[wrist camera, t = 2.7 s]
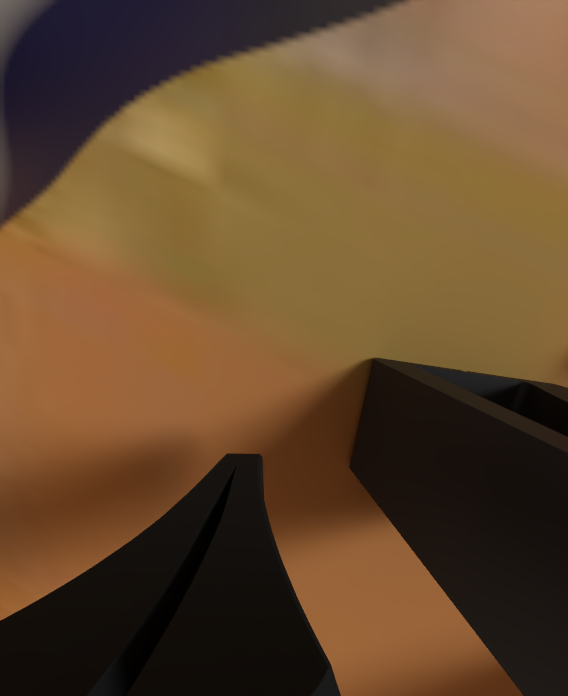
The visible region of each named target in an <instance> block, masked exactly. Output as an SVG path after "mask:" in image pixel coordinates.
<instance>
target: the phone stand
mask: <svg viewBox="0 0 568 696" xmlns="http://www.w3.org/2000/svg"><path fill="white" fill-rule="evenodd" d="M350 469H351V470H352V472H353V473H354V474H355V476H356V477H357V478H358V480H359V481H360V482H361V484H362V485H363V486H364V487H365V489H366V490H367V491H368V493H369V494H370V495H371V497H372V498H373V499H374V501H375V502H376V503H377V504H378V506H379V507H380V508H381V510H382V511H383V512H384V514H385V515H386V516H387V518H388V519H389V520H390V521H391V523H392V524H393V525H394V527H395V528H396V529H397V531H398V532H399V533H400V534H401V536H402V537H403V538H404V540H405V541H406V542H407V544H408V545H409V546H410V548H411V549H412V550H413V551H414V553H415V554H416V555H417V557H418V558H419V559H420V561H421V562H422V563H423V565H424V566H425V567H426V568H427V570H428V571H429V572H430V574H431V575H432V576H433V578H434V579H435V580H436V582H437V583H438V584H439V585H440V587H441V588H442V589H443V591H444V592H445V593H446V595H447V596H448V597H449V599H450V600H451V601H452V602H453V604H454V605H455V606H456V608H457V609H458V610H459V612H460V613H461V614H462V615H463V617H464V618H465V619H466V621H467V622H468V623H469V625H470V626H471V627H472V629H473V630H474V631H475V632H476V634H477V635H478V636H479V638H480V639H481V640H482V642H483V643H484V644H485V646H486V647H487V648H488V649H489V651H490V652H491V653H492V655H493V656H494V657H495V659H496V660H497V661H498V663H499V664H500V665H501V666H502V668H503V669H504V670H505V672H506V673H507V674H508V676H509V677H510V678H511V680H512V681H513V682H514V683H515V685H516V686H517V687H518V689H519V690H520V691H521V693H522V694H523V695H524V696H568V388H566V387H563V386H559V385H555V384H550V383H544V382H537V381H530V380H523V379H516V378H510V377H503V376H496V375H489V374H483V373H476V372H469V371H468V372H464V371H461V370H456V369H449V368H442V367H435V366H429V365H422V364H415V363H408V362H402V361H395V360H388V359H381V358H374V359H373V364H372V368H371V373H370V377H369V382H368V386H367V391H366V395H365V400H364V404H363V409H362V413H361V418H360V422H359V427H358V431H357V436H356V440H355V444H354V449H353V453H352V458H351V462H350Z"/></svg>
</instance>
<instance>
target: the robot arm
mask: <svg viewBox="0 0 568 696" xmlns="http://www.w3.org/2000/svg"><path fill="white" fill-rule="evenodd" d="M0 696H341V695H340V692H339V689H338V686H337V683H336V680H335V676H334V673H333V670H332V667H331V664H330V662H329V660H328V658H327V656H326V654H325V653H324V651H323V649H322V647H321V645H320V643H319V641H318V639H317V637H316V635H315V633H314V631H313V629H312V627H311V625H310V623H309V621H308V619H307V617H306V615H305V613H304V611H303V609H302V607H301V604H300V602H299V600H298V598H297V596H296V593H295V591H294V589H293V586H292V584H291V581H290V579H289V577H288V574H287V572H286V569H285V567H284V565H283V562H282V559H281V557H280V554H279V551H278V548H277V545H276V542H275V539H274V536H273V533H272V530H271V526H270V523H269V519H268V515H267V511H266V507H265V502H264V488H263V459H262V456H261V455H260V454H226V455H225V456H224V457H223V458H222V459H221V460H220V461H219V462H218V463H217V464H216V465H215V467H214V468H213V469H212V470H211V471H210V472H209V473H208V474H207V475H206V476H205V477H204V478H203V479H202V480H201V481H200V482H199V483H198V484H197V485H196V486H195V487H194V488H193V489H192V490H191V491H190V492H189V493H188V494H187V495H186V496H184V497H183V498H182V499H181V500H180V501H179V502H178V503H177V504H176V505H174V506H173V507H172V508H171V509H170V510H169V511H168V512H167V513H166V514H164V515H163V516H162V517H161V518H160V519H158V520H157V521H156V522H155V523H153V524H152V525H151V526H150V527H148V528H147V529H146V530H144V531H143V532H142V533H140V534H139V535H138V536H137V537H135V538H134V539H133V540H131V541H130V542H128V543H127V544H125V545H124V546H123V547H121V548H120V549H118V550H117V551H115V552H114V553H112V554H111V555H109V556H108V557H107V558H105V559H104V560H102V561H101V562H99V563H98V564H96V565H95V566H93V567H92V568H90V569H89V570H87V571H86V572H84V573H82V574H81V575H79V576H78V577H76V578H74V579H73V580H71V581H70V582H68V583H66V584H65V585H63V586H61V587H60V588H58V589H56V590H54V591H53V592H51V593H49V594H48V595H46V596H44V597H43V598H41V599H39V600H37V601H36V602H34V603H32V604H30V605H29V606H27V607H25V608H23V609H21V610H20V611H18V612H16V613H14V614H12V615H10V616H8V617H6V618H5V619H3V620H1V621H0Z"/></svg>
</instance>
